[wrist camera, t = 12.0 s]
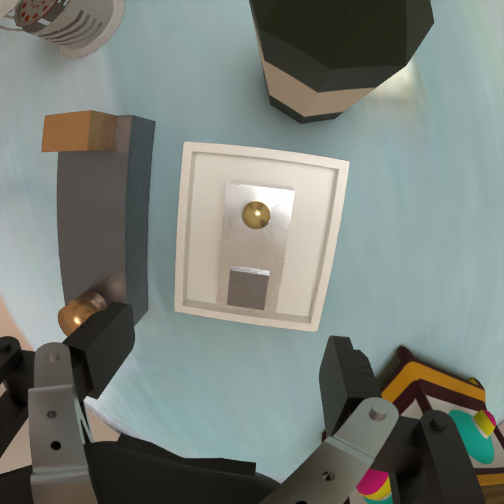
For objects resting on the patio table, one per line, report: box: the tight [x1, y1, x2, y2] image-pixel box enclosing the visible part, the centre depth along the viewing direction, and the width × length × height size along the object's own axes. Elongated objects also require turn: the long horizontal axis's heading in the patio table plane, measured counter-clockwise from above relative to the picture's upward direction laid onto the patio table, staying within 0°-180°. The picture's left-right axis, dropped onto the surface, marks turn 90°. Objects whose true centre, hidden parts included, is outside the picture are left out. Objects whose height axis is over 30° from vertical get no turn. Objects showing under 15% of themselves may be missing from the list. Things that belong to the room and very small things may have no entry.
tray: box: [175, 142, 350, 332], centre depth 27 cm, size 16×14×2 cm
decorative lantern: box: [322, 347, 504, 504], centre depth 19 cm, size 20×20×30 cm
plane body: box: [42, 110, 155, 337], centre depth 25 cm, size 20×8×9 cm, turn 174°
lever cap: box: [216, 180, 294, 314], centre depth 25 cm, size 10×5×6 cm, turn 174°
